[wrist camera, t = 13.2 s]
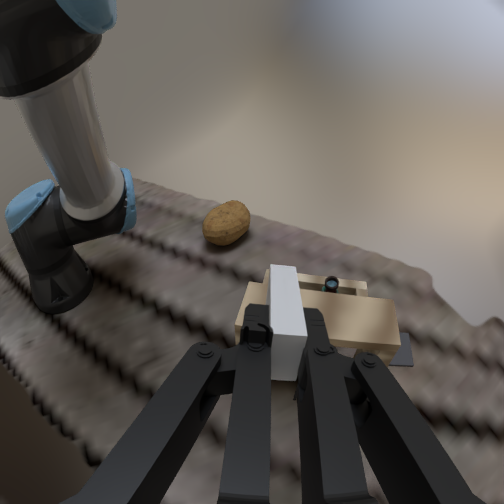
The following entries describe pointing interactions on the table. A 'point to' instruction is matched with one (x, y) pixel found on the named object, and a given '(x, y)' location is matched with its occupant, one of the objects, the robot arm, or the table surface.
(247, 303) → the tunnel
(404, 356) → the mat
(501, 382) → the table surface
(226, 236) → the potato
